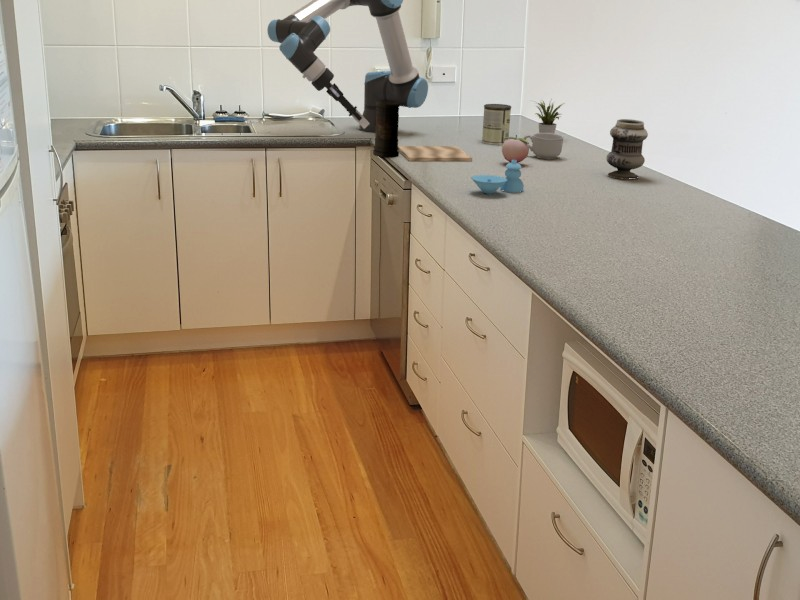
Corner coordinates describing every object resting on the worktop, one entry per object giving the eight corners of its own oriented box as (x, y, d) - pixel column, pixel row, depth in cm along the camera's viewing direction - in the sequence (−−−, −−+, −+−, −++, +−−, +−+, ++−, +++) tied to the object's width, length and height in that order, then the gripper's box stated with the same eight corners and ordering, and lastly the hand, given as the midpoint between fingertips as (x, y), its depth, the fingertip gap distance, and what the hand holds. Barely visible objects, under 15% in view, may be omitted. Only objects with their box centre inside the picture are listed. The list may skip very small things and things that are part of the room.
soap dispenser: (487, 199, 257) (489, 167, 254) (462, 191, 265) (464, 161, 262) (532, 192, 268) (535, 162, 265) (507, 185, 275) (510, 156, 272)
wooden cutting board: (408, 161, 306) (409, 157, 305) (397, 149, 326) (397, 146, 326) (472, 161, 310) (472, 157, 310) (456, 149, 330) (456, 146, 330)
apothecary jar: (621, 181, 287) (628, 124, 281) (596, 174, 297) (603, 118, 291) (650, 179, 293) (657, 123, 287) (625, 172, 303) (632, 117, 297)
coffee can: (481, 139, 353) (484, 103, 349) (508, 141, 353) (511, 104, 348) (481, 144, 344) (483, 106, 339) (508, 145, 343) (511, 108, 338)
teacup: (565, 157, 325) (567, 134, 322) (556, 161, 316) (558, 138, 313) (527, 152, 330) (529, 130, 328) (518, 157, 321) (520, 134, 318)
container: (372, 152, 319) (373, 100, 313) (397, 153, 320) (399, 101, 314) (373, 157, 310) (375, 103, 304) (399, 157, 311) (402, 104, 305)
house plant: (520, 140, 356) (524, 97, 351) (529, 135, 368) (533, 94, 363) (556, 143, 351) (560, 101, 346) (564, 138, 363) (568, 97, 358)
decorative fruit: (497, 165, 305) (499, 135, 302) (503, 161, 313) (505, 132, 309) (524, 168, 302) (527, 138, 299) (530, 164, 310) (532, 134, 306)
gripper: (308, 80, 308) (356, 130, 317) (312, 85, 296) (361, 136, 305) (324, 64, 307) (371, 115, 316) (328, 68, 295) (377, 121, 304)
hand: (366, 125), depth 310 cm, fingers closed
